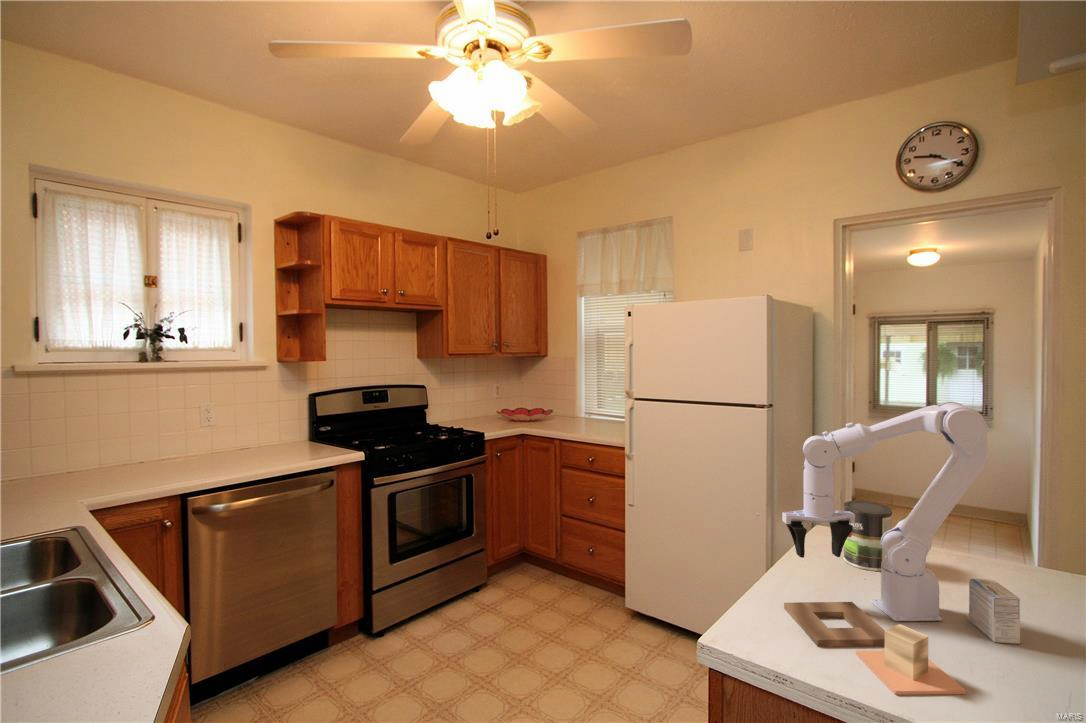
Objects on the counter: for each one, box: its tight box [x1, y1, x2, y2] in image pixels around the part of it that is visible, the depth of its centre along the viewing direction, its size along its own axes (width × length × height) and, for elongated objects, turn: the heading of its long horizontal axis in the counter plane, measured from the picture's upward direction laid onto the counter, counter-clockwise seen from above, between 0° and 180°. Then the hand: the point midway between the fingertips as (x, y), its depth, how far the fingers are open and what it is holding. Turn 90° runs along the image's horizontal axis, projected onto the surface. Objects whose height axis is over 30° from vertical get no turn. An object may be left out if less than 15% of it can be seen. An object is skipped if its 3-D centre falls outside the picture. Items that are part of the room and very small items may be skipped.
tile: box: [855, 649, 967, 696], centre depth 90 cm, size 11×11×1 cm
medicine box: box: [968, 578, 1021, 645], centre depth 102 cm, size 8×4×9 cm, turn 168°
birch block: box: [884, 623, 929, 680], centre depth 91 cm, size 4×4×6 cm
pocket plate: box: [783, 601, 886, 647], centre depth 106 cm, size 14×14×1 cm
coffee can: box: [843, 500, 893, 572], centre depth 134 cm, size 10×10×14 cm
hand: (818, 555), depth 116 cm, fingers open, 7 cm apart
